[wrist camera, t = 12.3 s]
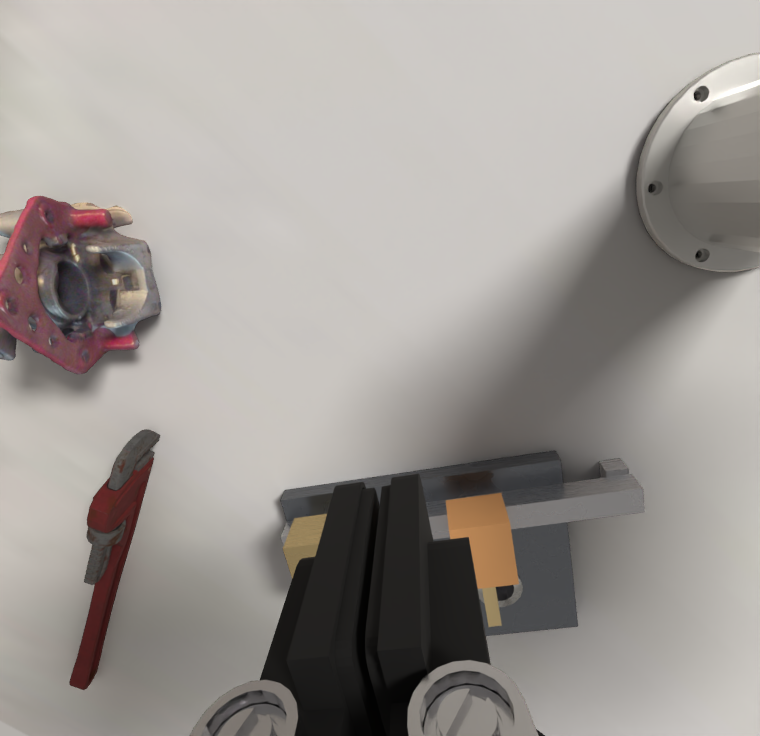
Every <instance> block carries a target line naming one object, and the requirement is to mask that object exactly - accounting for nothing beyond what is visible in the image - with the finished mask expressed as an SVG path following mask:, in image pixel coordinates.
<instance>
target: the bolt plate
mask: <svg viewBox="0 0 760 736" xmlns="http://www.w3.org/2000/svg"><path fill="white" fill-rule="evenodd" d="M599 466H600V478H597V479H590V480H582V481H575V482H568V483H563V477H562V468H561V460H560V458H559V456H558V454H557V453H556V451H549V452H542V453H535V454H529V455H522V456H515V457H508V458H501V459H494V460H488V461H481V462H474V463H467V464H460V465H453V466H447V467H440V468H433V469H426V470H419V471H413V472H406V473H399V474H392V475H385V476H378V477H372V478H365V479H358V480H351V481H344V482H337V483H331V484H324V485H317V486H310V487H303V488H297V489H290V490H285V491H284V494H283V496H282V498H281V500H280V501H281V504H282V507H283V510H284V514H285V517H286V520H287V522H286V525H285V527H284V530H283V532H282V535H281V540H282V543H283V546H284V547H283V551H284V554H285V557H286V560H287V564H288V567H289V570H290V573H291V576H292V579H293V575H294V572H295V569H296V566H297V564H298V562H299V560H301V559H302V558H308V557H315V556H316V552H317V548H318V545H319V541H320V538H321V534H322V531H323V527H324V523H325V520H326V516H327V513H328V509H329V505H330V502H331V498H332V495H333V491H334V488H335V486H337V485H343V484H350V483H357V482H364V484H365V486H366V489H367V488H373V487H374V488H375V490H376V493H377V496H378V501H379V505H380V497H381V489H382V486H387V485H391V478H392V477H398V476H405V475H412V474H418V473H419V475H420V478H421V482H422V487H423V492H424V497H425V502H426V506H427V511H428V516H429V521H430V526H431V531H432V536H433V541H441V540H449V539H450V534H449V527H448V518H447V508H446V500H452V499H459V498H466V497H474V496H481V495H488V494H495V493H501V494H502V497H503V501H504V504H505V507H506V511H507V514H508V517H509V521H510V526H511V533H512V539H513V546H514V553H515V560H516V567H517V574H518V581H519V584H517V585H508V586H499V587H496V593H497V599H498V605H499V611H500V617H501V624H502V626H492V627H489V626H488V620H487V614H486V608H485V603H484V597H483V591H482V589H478V593H479V599H480V604H481V610H482V616H483V622H484V628H485V634H486V636H490V635H500V634H509V633H519V632H529V631H538V630H548V629H558V628H568V627H577V626H578V621H577V612H576V602H575V592H574V583H573V573H572V564H571V554H570V544H569V535H568V525H567V522H572V521H580V520H588V519H595V518H603V517H611V516H619V515H626V514H634V513H642V512H644V493H643V487H642V486H641V485H640V484H639V482H638V481H637V480H636V479H635V477H634V476H633V475H632V474H629V469H628V467H627V466H626V465H625V463H624V462H623V461H622V460H621V458H620V459H613V460H606V461H599Z"/></svg>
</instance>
